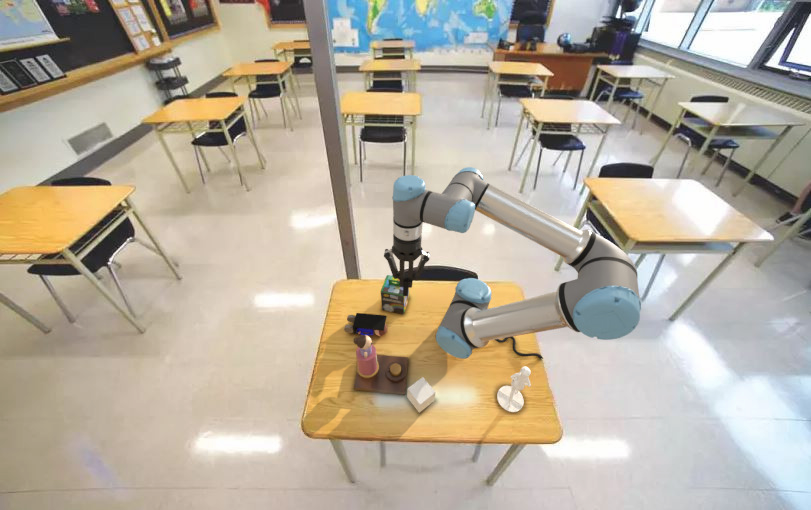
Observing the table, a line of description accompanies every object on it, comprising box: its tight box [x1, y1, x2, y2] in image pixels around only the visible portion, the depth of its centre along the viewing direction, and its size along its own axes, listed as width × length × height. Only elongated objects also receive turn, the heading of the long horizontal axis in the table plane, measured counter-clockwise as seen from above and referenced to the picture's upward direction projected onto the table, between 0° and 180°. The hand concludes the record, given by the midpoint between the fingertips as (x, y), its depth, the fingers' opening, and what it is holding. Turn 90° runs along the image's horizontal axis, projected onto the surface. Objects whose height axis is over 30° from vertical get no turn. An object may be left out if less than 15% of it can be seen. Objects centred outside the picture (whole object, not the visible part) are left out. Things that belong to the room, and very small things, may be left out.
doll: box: [353, 334, 379, 378], centre depth 96 cm, size 7×7×17 cm
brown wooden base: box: [353, 354, 409, 396], centre depth 103 cm, size 16×12×4 cm
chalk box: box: [380, 274, 410, 315], centre depth 122 cm, size 9×9×15 cm
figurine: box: [496, 366, 532, 413], centre depth 93 cm, size 8×8×18 cm
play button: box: [390, 363, 401, 377], centre depth 101 cm, size 4×4×2 cm
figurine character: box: [343, 312, 388, 337], centre depth 114 cm, size 7×8×15 cm
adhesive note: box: [406, 376, 436, 413], centre depth 97 cm, size 6×6×6 cm
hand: (405, 292), depth 99 cm, fingers closed
